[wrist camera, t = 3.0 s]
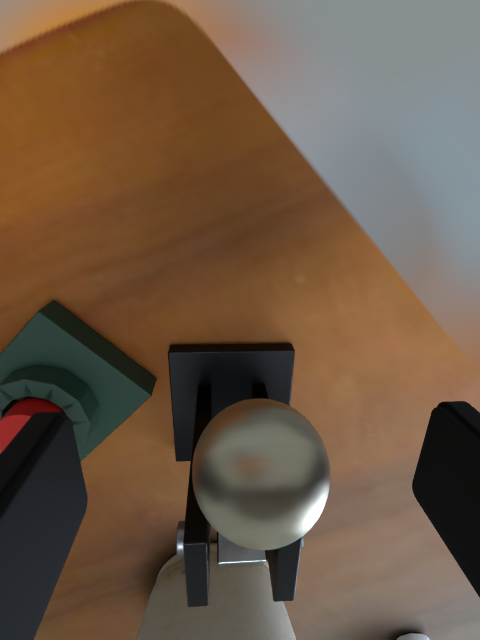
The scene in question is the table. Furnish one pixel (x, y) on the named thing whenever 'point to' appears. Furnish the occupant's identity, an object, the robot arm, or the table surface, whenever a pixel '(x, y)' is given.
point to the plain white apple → (413, 637)
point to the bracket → (192, 418)
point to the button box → (73, 375)
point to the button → (22, 417)
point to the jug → (215, 606)
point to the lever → (259, 479)
